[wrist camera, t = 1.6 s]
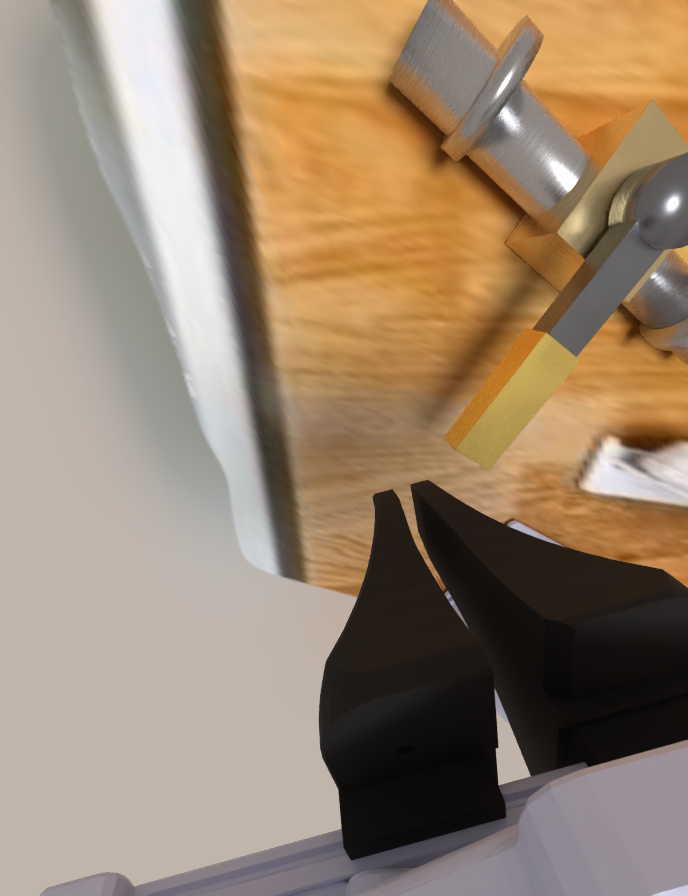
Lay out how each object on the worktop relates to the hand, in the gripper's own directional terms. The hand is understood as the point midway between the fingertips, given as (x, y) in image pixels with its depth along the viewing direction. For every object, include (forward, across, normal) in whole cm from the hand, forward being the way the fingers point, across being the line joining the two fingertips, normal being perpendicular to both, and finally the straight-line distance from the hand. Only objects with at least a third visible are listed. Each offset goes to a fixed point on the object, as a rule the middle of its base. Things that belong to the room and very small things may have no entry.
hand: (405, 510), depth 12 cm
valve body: (+10, -13, -7) cm, 18 cm away
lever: (+6, -9, -3) cm, 11 cm away
